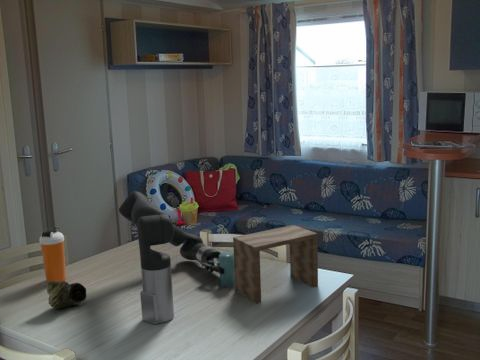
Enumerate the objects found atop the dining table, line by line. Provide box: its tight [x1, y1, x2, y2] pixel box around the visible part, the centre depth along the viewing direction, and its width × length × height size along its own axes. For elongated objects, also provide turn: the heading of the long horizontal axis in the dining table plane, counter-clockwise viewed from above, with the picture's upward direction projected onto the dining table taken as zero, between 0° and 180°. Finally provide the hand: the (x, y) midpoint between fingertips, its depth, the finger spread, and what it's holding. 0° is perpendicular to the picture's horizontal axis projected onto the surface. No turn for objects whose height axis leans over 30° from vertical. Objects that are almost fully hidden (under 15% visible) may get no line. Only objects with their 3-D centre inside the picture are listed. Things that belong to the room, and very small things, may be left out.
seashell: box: [45, 280, 87, 310], centre depth 178 cm, size 11×11×10 cm
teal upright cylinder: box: [219, 252, 235, 287], centre depth 194 cm, size 6×6×11 cm
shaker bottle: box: [38, 227, 67, 282], centre depth 203 cm, size 9×9×20 cm
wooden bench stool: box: [232, 224, 319, 304], centre depth 187 cm, size 14×26×20 cm, turn 120°
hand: (230, 269), depth 191 cm, fingers closed on teal upright cylinder, 5 cm apart
